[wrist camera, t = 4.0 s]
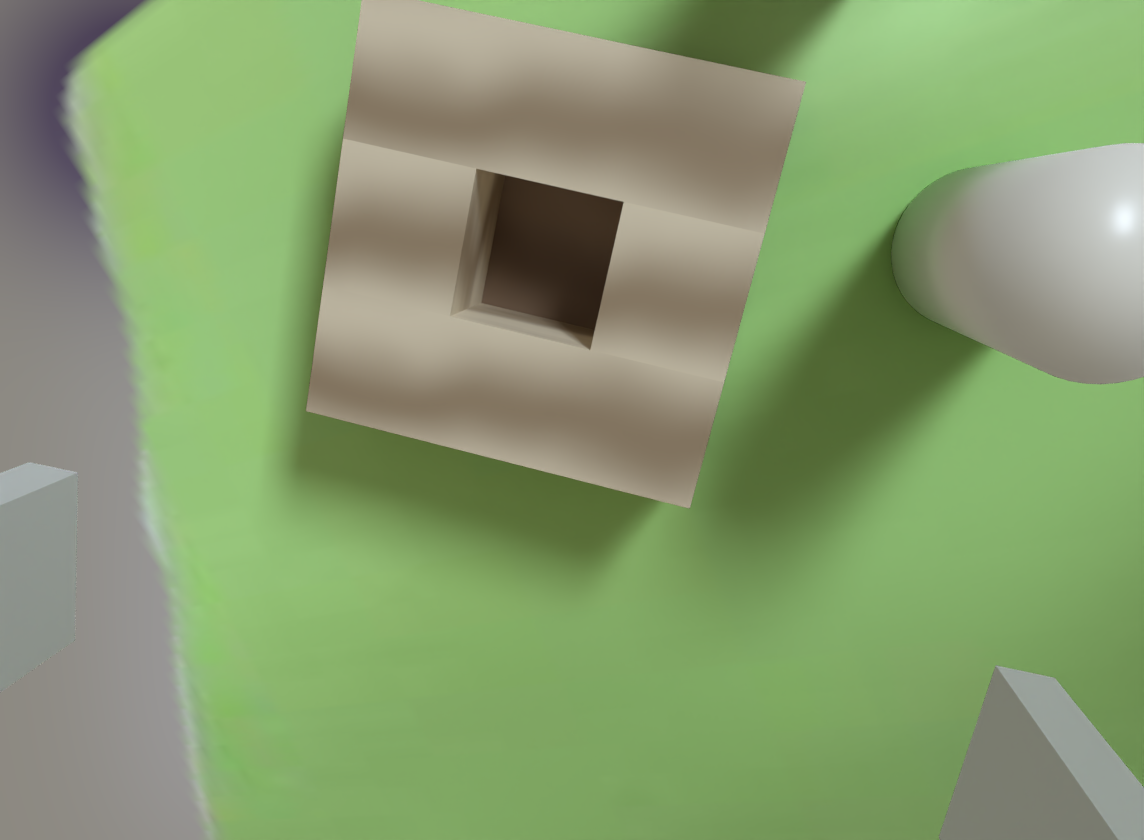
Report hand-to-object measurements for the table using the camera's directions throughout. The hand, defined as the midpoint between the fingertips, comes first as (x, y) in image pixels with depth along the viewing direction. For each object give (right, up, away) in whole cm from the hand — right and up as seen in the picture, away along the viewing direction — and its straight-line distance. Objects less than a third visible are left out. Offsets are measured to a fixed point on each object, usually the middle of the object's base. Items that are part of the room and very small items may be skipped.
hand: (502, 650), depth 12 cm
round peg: (+18, +10, +23) cm, 31 cm away
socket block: (0, +11, +25) cm, 28 cm away
